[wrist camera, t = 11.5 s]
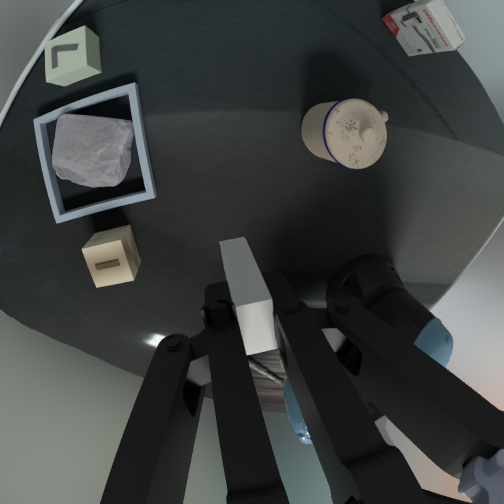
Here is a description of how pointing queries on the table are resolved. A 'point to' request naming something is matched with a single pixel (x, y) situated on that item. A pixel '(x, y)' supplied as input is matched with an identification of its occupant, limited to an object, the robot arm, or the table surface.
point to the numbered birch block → (112, 256)
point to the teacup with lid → (346, 132)
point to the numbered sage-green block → (72, 57)
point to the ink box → (425, 27)
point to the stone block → (92, 149)
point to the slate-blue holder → (141, 146)
